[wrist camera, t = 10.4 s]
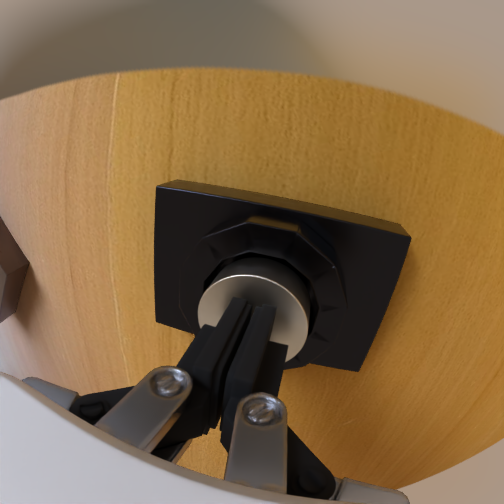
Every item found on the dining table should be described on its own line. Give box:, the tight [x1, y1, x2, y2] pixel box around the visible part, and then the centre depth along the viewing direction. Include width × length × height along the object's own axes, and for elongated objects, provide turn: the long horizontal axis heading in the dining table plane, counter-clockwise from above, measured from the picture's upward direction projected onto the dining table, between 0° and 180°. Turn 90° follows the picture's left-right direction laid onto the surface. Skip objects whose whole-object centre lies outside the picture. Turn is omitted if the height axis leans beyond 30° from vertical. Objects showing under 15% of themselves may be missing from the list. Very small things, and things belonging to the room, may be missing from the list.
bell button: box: [198, 257, 311, 362], centre depth 12 cm, size 4×4×2 cm
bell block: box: [154, 180, 411, 372], centre depth 14 cm, size 12×8×4 cm, turn 82°
